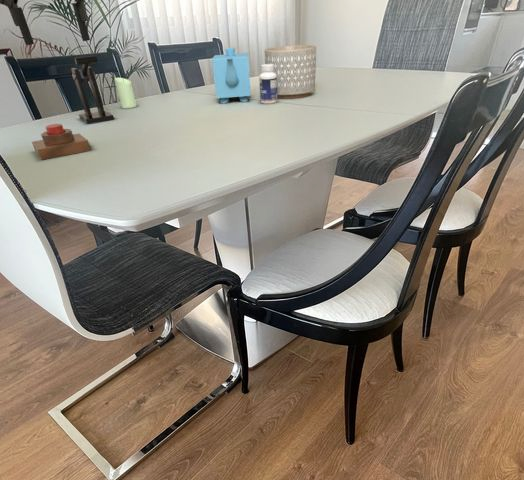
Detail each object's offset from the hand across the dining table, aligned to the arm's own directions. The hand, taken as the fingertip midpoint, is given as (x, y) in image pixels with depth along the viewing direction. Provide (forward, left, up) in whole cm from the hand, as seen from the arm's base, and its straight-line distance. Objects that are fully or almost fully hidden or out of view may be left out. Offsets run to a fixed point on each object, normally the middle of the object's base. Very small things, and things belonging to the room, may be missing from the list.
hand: (58, 42), depth 90 cm
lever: (+7, +14, -8) cm, 18 cm away
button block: (-9, -13, -19) cm, 25 cm away
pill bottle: (+57, -1, -19) cm, 60 cm away
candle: (+21, +31, -19) cm, 42 cm away
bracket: (+7, +19, -19) cm, 28 cm away
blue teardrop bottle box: (+51, +11, -19) cm, 56 cm away
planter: (+69, +4, -19) cm, 72 cm away
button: (-9, -13, -16) cm, 22 cm away
